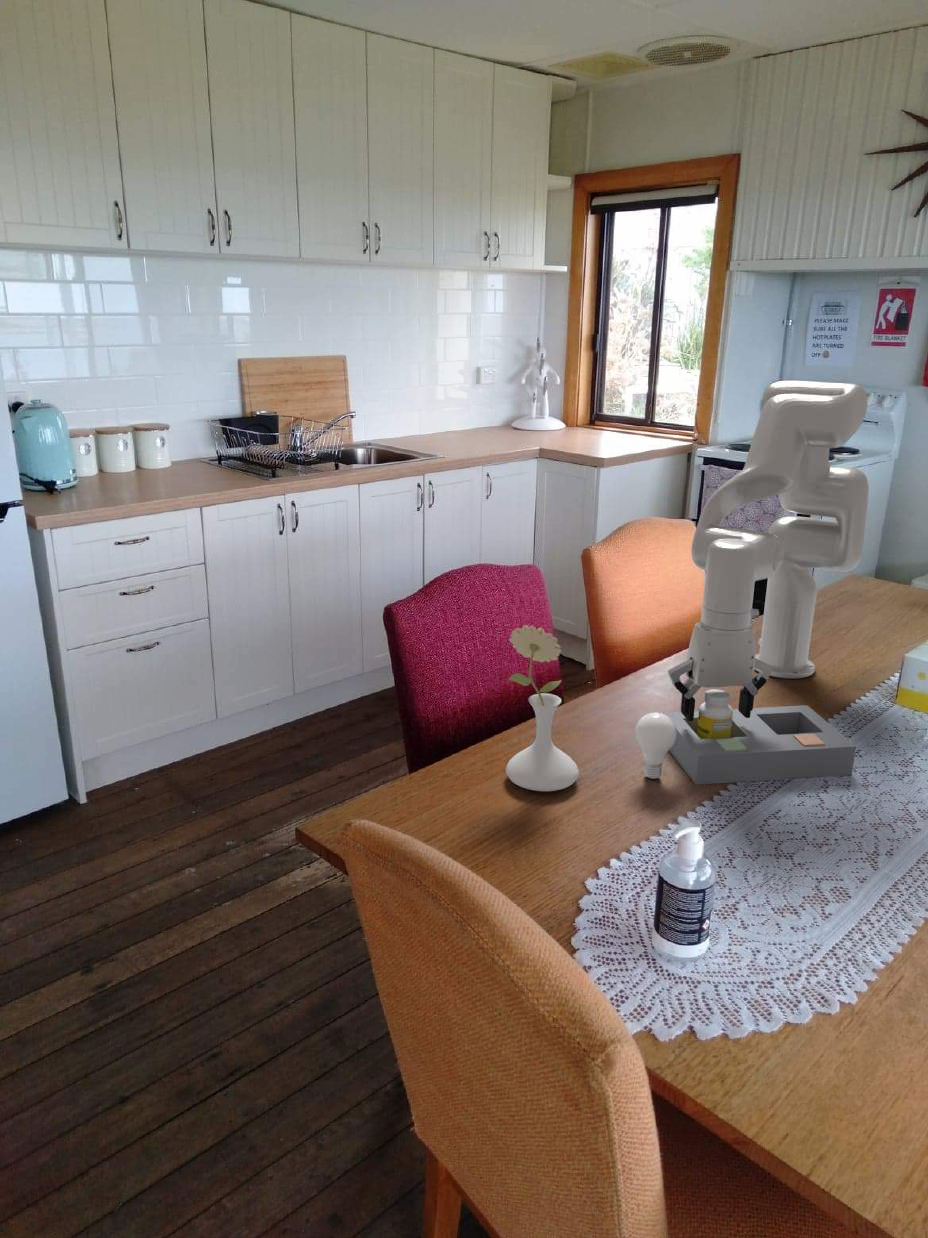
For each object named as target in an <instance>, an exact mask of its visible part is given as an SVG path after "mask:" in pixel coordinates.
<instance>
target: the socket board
mask: <svg viewBox="0 0 928 1238" xmlns="http://www.w3.org/2000/svg"><path fill="white" fill-rule="evenodd" d="M732 710H733V717H732V726H731V736H730V738H714V739H700V738H699V737H698V736H697V727H698V717H699V710H698V711H697V710H694V720H693V721H688V720H687V719H686V718H685V716H684V715H683V714H682V713H681V711H676V712H675V711H674V712H672V711H671V712H663V713H662V714H665V715H666V716H668V717H669V718H670V719H671V720H672V721H673V722H674V724H675V726H676V730H677V737H676V741H675V743H674V745H673V746H672V747H671V748H670V750H669V751H670V753H671V755H672V756H673V757H674V758H675V760H676V761H677V762H678V763H679V765H680V766H681V768H682V769H683V770H684V772H685V774H687V775H688V777H689V778H690V779H691V780H692V782H693V784H694V785H696V786H698V785H711V784H713V785H714V784H725V783H726V784H727V783H728V784H731V783H743V782H742V781H747V782H756V781H758V782H760V781H774V780H775V781H776V780H791V779H806V778H807V779H809V778H821V777H823V778H824V777H825V778H826V777H838V776H851V775H853V770H854V769H853V768H854V763H855V758H856V757H855V756H856V751H857V750H856V749H857V746H856V745H855V744H854V743H853V742H851V740H849V739H848V738H847V737H846V736H845V735H843V734H842V733H841V732H840V731H839V730H837V729H836V728H835V727H834V726H832V725H831V724H830V722H828V721H827V720H826V719H824V718H823V717H822V716H821V715H820V714H818V713H817V712H816V711H814V710H813V708H812V707H810V706H809V705H807V704H806V705H788V706H785V705H784V706H768V707H766V706H765V707H753V710H752V711H751V714H750V718H746V717H744V716H743V715H742V714H741V713H740V712H739V710H738V708H734V709H733V708H732Z"/></svg>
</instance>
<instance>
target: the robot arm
mask: <svg viewBox="0 0 928 1238" xmlns="http://www.w3.org/2000/svg"><path fill="white" fill-rule="evenodd" d="M764 391H765V392H764V395H763V406H762V409H761V411H760V415H759V419H758V421H757V425H756V428H755V431H754V433H753V437H752V441H751V444H750V447H749V451H748V453H747V457H746V460H745V463H744V466H743V469H742V470H741V471H740V472H738V473H737V474H735V475H733V477H731V478H730V479H728V480H727V481H725V482H724V483H723V484H722V485H720V487H718V488H717V489H716V490H715V492H713V494H712V495H710V497H709V498H708V499H707V501H706V502H705V504H704V506H703V508H702V511H701V513H700V516H699V519H698V523H697V525H696V529H695V531H694V532H695V533H694V534H693V539H692V543H691V548H690V549H691V551H690V553H691V559H692V560H691V561H692V562H693V564H694V565H695V566H696V567H697V568H698V569H701V570H703V571H705V573H704V574H705V575H704V583H703V585H704V586H703V596H702V597H703V598H702V599H703V600H702V607H701V608H702V609H701V617H700V619H701V620H700V621H697V622H696V623H695V625H694V628H693V631H692V633H691V637H690V641H689V647H688V652H687V658H686V660H685V661H683V662H681V663H680V664H677V665H676V666H674V667H671V668H670V669H668V670H667V675H668V677H669V679H670V681H671V683H672V685H673V687H675V689H676V690H677V691H678V692H679V693H680V694H681V699H680V700H681V702H680V712H681V713H682V714H683V715H684V716H685V718H686V719H687V720H688V721H693V720H694V711H695V708H696V699H695V697H694V695H696V694H697V692H698V691H699V690H701V688H709V689H710V688H725V687H726V688H727V687H741V686H743V688H740V690H739V699H738V708H737V709H738V710H739V712H740V713H741V714H742V715H743V716H744V717H746V718H750V714H751V711H752V710H753V708H754V700H755V696H756V695H758V693H759V690H760V689H761V688H762V687H763V686H765V685H766V684H767V680H768V679H769V677H772V678H773V677H774V678H780V679H790V680H791V679H803V678H807V677H810V676H812V675H813V674H814V673H815V671H816V670H815V669H816V666H815V664H814V663H813V662H812V661H811V660H810V659H809V654H810V653H809V651H810V645H811V637H812V630H813V623H814V616H815V615H814V614H815V610H816V609H815V607H816V599H817V593H818V591H817V590H818V589H817V588H818V587H817V584H816V581H815V578H814V576H813V575H812V573H811V571H810V569H811V568H812V569H819V570H826V571H834V572H850V571H853V570H854V569H855V568H856V567H857V566H858V565H859V563H860V560H861V557H862V554H863V547H864V541H865V540H864V539H865V531H866V529H865V528H866V522H867V514H868V513H867V511H868V502H869V481H868V478H867V476H866V474H865V473H864V471H862V470H860V469H858V468H854V467H844V466H833V465H831V463H830V461H829V460H830V459H829V458H830V449H837V448H841V447H842V446H844V445H846V443H847V442H848V441H849V440H850V439H851V438H852V437H853V436H854V434H856V433H857V432H858V430H859V429H860V427H861V426H862V424H863V422H864V421H865V417H866V415H867V414H866V413H867V410H868V396H867V393H866V390H865V389H864V387H863V386H861V385H859V384H857V383H850V382H849V383H847V382H827V381H816V380H815V381H813V380H780V381H779V380H778V381H776V382H773V383H771V384H769V385H768V386H767V387H766V389H765V390H764ZM777 495H778V498H779V503H780V507H782V508H783V510H785V511H787V512H790V513H795V514H801V515H807V516H808V515H809V516H818V517H827V518H834V519H835V520H830V519H822V518H821V519H820V518H815V517H806V516H798V515H797V516H795V515H794V516H793V515H790V516H782V517H780V518H778V519H776V520H774V521H773V522H772V523H771V525H770V527H769V530H768V532H766V531H757V530H750V529H745V528H738V527H729V526H721V523H722V522H723V521H724V519H725V518H726V517H727V516H728V515H729V514H731V512H733V511H735V510H736V509H739V508H740V507H743V506H746V505H748V504H751V503H754V502H758V501H761V500H764V499H767V498H771V497H774V496H777ZM809 568H810V569H809ZM766 579H767V582H766V583H767V584H766V592H765V601H764V607H763V608H764V611H763V619H762V626H761V635H760V638H759V639H758V640H757V644H758V645H759V651H758V652H759V653H757V654H756V638H755V630H754V626H753V625H752V621H753V619H754V618H755V619H756V618H759V617H760V611H759V609H758V608H753V603H754V601H753V600H754V594H755V593H754V591H755V583H756V582H757V581H762V580H766ZM755 671H757V672H758V674H757V675H755ZM684 674H685V676H686V677H687V679H686V680H685V681H684V682H682V680H681V676H682V675H684ZM754 676H755V677H754Z"/></svg>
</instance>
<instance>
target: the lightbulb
mask: <svg viewBox="0 0 928 1238" xmlns="http://www.w3.org/2000/svg"><path fill="white" fill-rule="evenodd" d="M634 736H635V740H636V743H637V744H638V746H639V748H640V749H641V750H642V757H643V760H644V768H643V770H644V771H643V775H644V776H645V777H647V778H648V779H650V780H655V779H658V778H660V777H661V776H662V767H663V762H664V760H665V757H666V755H667V754H668V752H669V751H670V748H671V747H672V746H673V745H674V743H675V741H676V737H677V730H676V726H675V724H674V722H673V721H672V720H671V719H670V718H669V717H668V716H666V715H665V714H663V713H661V712H656V711H655V712H650V713H647V714H645V715H643V716H642V717H641V718H639V720H638V722H637V723H636V725H635V730H634Z"/></svg>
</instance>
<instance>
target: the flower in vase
mask: <svg viewBox="0 0 928 1238" xmlns="http://www.w3.org/2000/svg"><path fill="white" fill-rule="evenodd" d="M508 640H509V642H510V643H511V644H512V647H513V648H514V649H516V652H517V653H518V654H520V655H522V656H523V657H524V658H525V659H526V658H527V659H528V658H530V662H529V670H528V674H529V675H528V676H529V677H528V676H525V675H524V674H522V673H518V672H516V673H514V674H512V675H511V676H510V677H509V678H508V679H507V680H508V681H512V682H515V683H518V684H520V685H522V686H524V687H526V686H527V687H528V686H530V684H531V685H532V687H533V688H534V689H535V692H536V694H532V695H530V696H529V697H528V698H527V699H528V700H527V701H528V702H529V704H530V705H531V706H532V709H533V711H534V715H535V723H536V736H535V740H534V742H533V743H532V744H531V745H530V746H528V747H526V748H524V749H522V750H521V751H519V752H517V753H516V754H515V755H514V756H512V757H511V758H510V759H509V761H508V762H507V764H506V767H505V773H506V775H507V777H508V778H509V779H510V782H512V783H513V784H515V785H517V786H518V787H520V788H523V789H526V790H531V791H535V792H556V791H559V790H564V789H567V788H568V787H570V786H571V785H573V784H574V783H575V781H576V780H578V778H579V774H580V771H579V768H578V765H577V764H576V762H575V761H574V760H573V759H572V758H571V757H570V756H569V755H568V754H567V753H565V751H562V750H561V749H559V748H558V747H556V746H555V744H553V741H552V723H553V719H554V714H555V712H556V709H557V708H558V707H559V706H560V704H562V698H561V697H559V696H558V695H555V694H552V693H549V692H551V691H553V690H555V689H556V688H557V687H559V686H560V684H561V683H562V679H560V680H556V681H549V682H547V683H546V684H544V685H543V686H542V687H541V688H540V689H538V687H537V686H536V683H535V682H534V680H533V677H532V670H533V662H534V661H535V662H536V661H537V662H540V663H544V662H547V663H550V662H551V661H557V660H558V657H559V656H560V654H561V653H562V650H561V648H562V647H561V645H560V644H558V638H557V637H554V635H553V633H549V632H548V633H547V632H545V629H544V628H543V627H539V628H537V629H536V627H535V626H533V625H530V626H528V625H526V624H525V625H523V626H522V628H520V627H516V628H515V630H512V634H510V638H509V639H508Z"/></svg>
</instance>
